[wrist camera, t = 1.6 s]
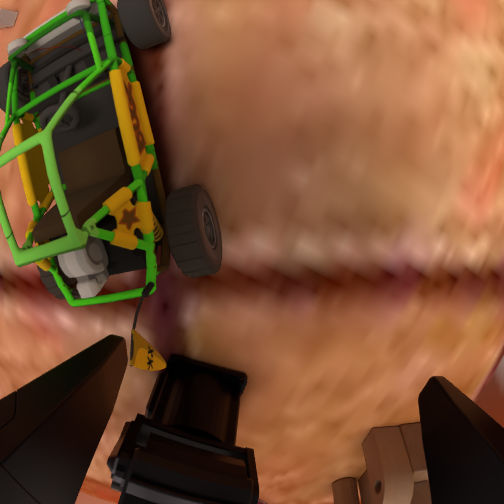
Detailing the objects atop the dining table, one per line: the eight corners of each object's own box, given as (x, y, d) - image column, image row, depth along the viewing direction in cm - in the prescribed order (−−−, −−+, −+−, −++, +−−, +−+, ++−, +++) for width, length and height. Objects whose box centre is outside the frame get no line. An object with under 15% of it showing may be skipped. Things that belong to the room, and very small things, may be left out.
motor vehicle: (163, -8, 14) (78, -86, 4) (238, 275, 21) (214, 398, 12) (24, 65, 16) (-88, 67, 6) (97, 300, 23) (26, 393, 13)
